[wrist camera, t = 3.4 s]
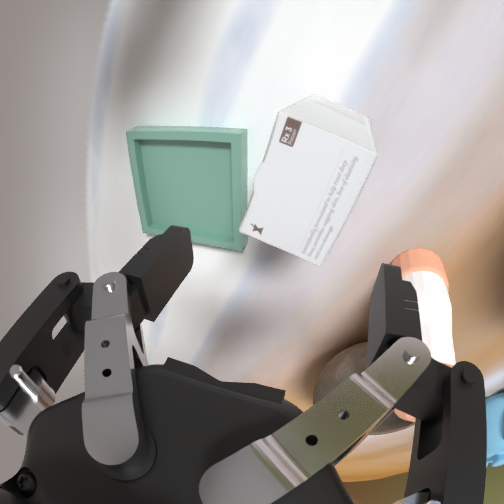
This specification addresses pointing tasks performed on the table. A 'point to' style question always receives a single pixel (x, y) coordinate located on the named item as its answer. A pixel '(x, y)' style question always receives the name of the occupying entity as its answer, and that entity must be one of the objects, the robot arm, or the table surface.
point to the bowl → (342, 370)
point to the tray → (191, 181)
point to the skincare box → (310, 178)
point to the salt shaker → (429, 304)
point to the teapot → (495, 429)
